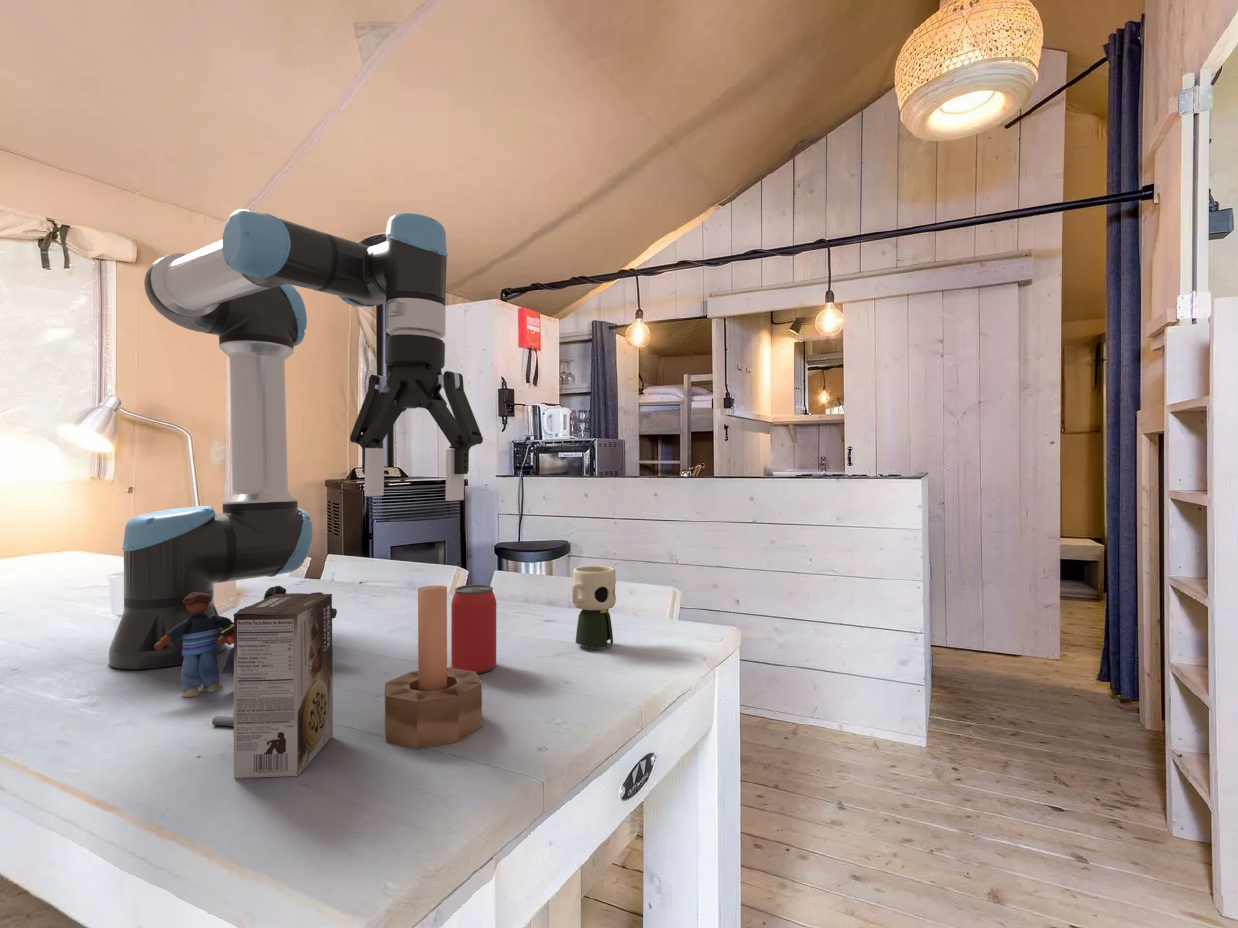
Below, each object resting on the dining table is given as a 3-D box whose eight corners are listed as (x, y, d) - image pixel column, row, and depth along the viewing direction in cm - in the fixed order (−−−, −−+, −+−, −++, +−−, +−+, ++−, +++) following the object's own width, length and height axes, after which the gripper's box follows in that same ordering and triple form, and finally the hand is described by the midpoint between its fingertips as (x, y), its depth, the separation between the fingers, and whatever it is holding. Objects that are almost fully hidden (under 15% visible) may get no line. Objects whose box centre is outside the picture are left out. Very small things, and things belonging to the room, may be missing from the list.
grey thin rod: (211, 726, 71) (212, 717, 71) (218, 722, 72) (218, 714, 72) (295, 731, 70) (295, 722, 70) (301, 727, 71) (301, 718, 71)
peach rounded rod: (412, 729, 70) (412, 589, 71) (430, 718, 73) (430, 584, 74) (435, 733, 69) (434, 591, 69) (453, 723, 72) (452, 586, 72)
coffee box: (274, 738, 68) (275, 592, 68) (334, 736, 69) (335, 591, 69) (229, 780, 59) (230, 612, 59) (299, 777, 60) (299, 610, 60)
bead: (364, 736, 68) (364, 691, 69) (427, 703, 78) (427, 664, 78) (440, 753, 65) (440, 705, 65) (496, 716, 74) (496, 674, 74)
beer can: (485, 677, 88) (485, 593, 88) (442, 674, 89) (443, 591, 89) (503, 662, 94) (503, 584, 95) (463, 660, 96) (463, 583, 96)
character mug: (590, 658, 97) (590, 575, 97) (556, 650, 101) (556, 571, 101) (630, 642, 105) (630, 566, 105) (598, 635, 110) (598, 562, 110)
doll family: (195, 711, 76) (195, 603, 76) (147, 701, 79) (147, 597, 79) (341, 657, 98) (341, 573, 98) (298, 651, 101) (298, 570, 101)
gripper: (323, 338, 83) (321, 495, 83) (476, 325, 73) (473, 504, 73) (366, 347, 90) (364, 492, 90) (511, 337, 80) (508, 500, 80)
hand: (413, 498), depth 82 cm, fingers open, 13 cm apart
